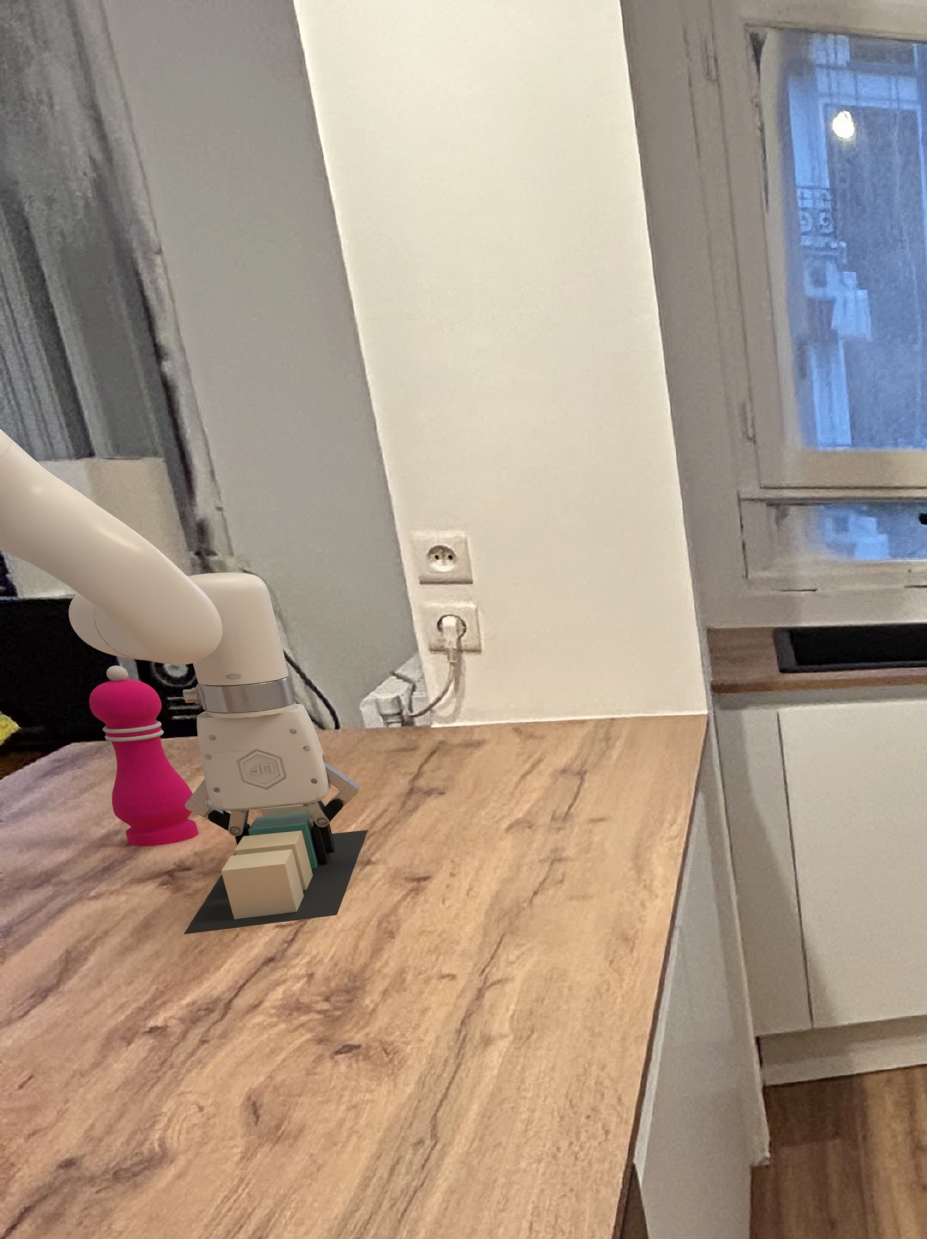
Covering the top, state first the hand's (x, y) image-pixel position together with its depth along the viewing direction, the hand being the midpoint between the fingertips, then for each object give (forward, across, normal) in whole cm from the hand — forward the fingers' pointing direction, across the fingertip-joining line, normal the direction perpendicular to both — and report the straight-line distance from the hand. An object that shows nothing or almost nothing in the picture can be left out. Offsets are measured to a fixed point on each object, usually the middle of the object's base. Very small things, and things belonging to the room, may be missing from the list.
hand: (291, 861), depth 145 cm
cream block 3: (0, 0, -15) cm, 15 cm away
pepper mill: (+1, -14, +17) cm, 22 cm away
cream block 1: (0, 0, +8) cm, 8 cm away
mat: (+1, 0, -4) cm, 4 cm away
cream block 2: (0, 0, -8) cm, 8 cm away
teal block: (0, 0, 0) cm, 0 cm away
